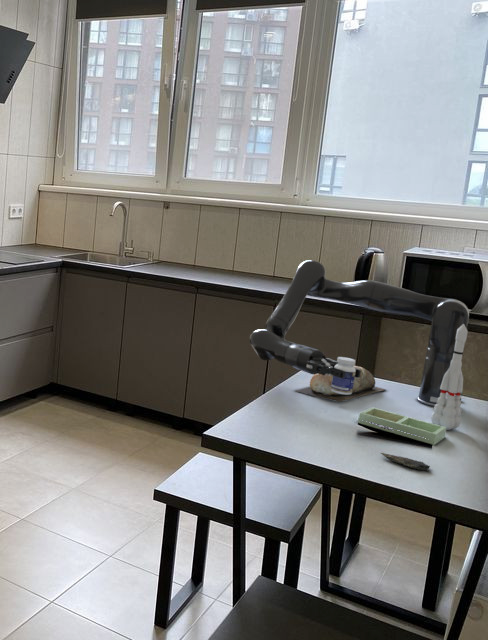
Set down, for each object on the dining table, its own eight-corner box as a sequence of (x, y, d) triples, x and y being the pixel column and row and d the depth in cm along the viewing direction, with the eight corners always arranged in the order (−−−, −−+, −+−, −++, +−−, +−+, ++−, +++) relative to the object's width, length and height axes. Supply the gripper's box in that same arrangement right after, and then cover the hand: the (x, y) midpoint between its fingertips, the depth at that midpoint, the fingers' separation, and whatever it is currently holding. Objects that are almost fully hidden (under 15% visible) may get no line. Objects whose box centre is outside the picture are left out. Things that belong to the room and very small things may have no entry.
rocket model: (426, 421, 214) (445, 319, 209) (455, 426, 211) (475, 323, 207) (432, 429, 207) (452, 324, 202) (462, 434, 205) (483, 328, 200)
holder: (370, 416, 214) (371, 406, 213) (444, 437, 200) (446, 427, 200) (358, 422, 206) (359, 412, 206) (434, 445, 193) (436, 434, 193)
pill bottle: (354, 396, 211) (360, 362, 209) (332, 393, 212) (338, 359, 210) (348, 390, 216) (354, 357, 215) (328, 387, 218) (333, 355, 216)
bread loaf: (332, 377, 258) (335, 351, 257) (387, 388, 246) (390, 361, 245) (292, 397, 233) (294, 368, 232) (351, 410, 221) (354, 380, 220)
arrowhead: (378, 456, 181) (379, 450, 181) (422, 463, 179) (423, 457, 178) (386, 467, 174) (387, 461, 174) (432, 474, 172) (433, 468, 172)
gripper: (319, 369, 230) (367, 386, 215) (285, 371, 224) (332, 388, 209) (323, 345, 229) (371, 361, 213) (289, 347, 222) (336, 362, 207)
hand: (351, 374), depth 211 cm, fingers closed on pill bottle, 5 cm apart
